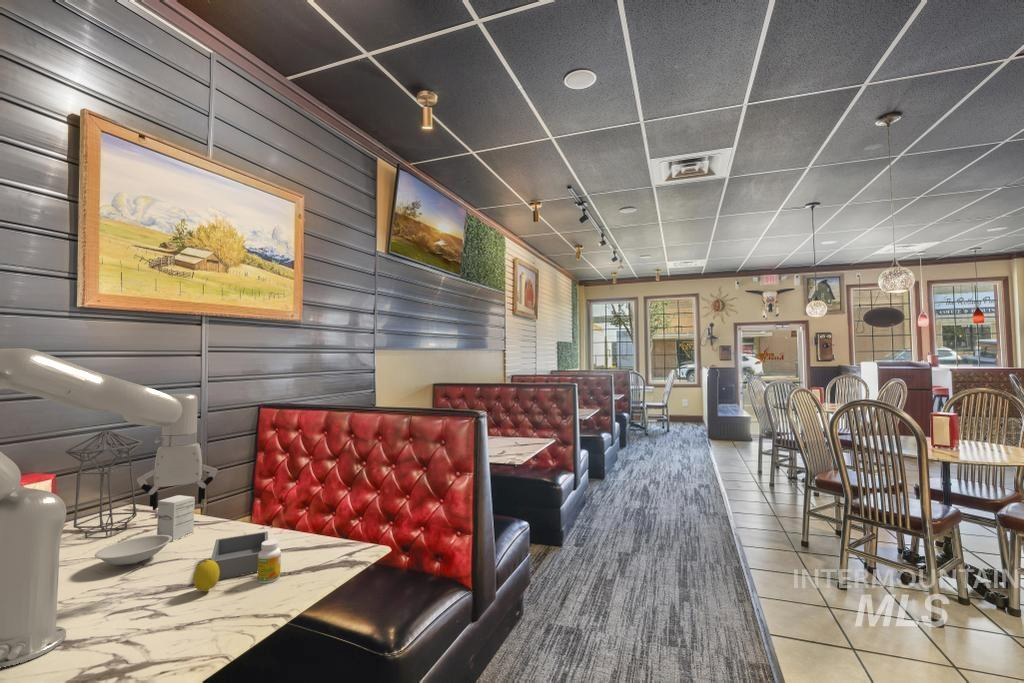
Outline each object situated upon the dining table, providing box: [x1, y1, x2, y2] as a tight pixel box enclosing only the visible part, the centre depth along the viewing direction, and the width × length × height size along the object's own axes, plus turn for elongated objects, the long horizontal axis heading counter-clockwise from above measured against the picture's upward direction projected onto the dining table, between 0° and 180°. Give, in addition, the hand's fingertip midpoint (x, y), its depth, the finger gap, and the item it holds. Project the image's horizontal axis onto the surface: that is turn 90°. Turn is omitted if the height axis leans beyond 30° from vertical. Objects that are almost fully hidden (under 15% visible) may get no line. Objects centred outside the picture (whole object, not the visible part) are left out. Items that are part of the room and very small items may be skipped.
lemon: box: [192, 559, 220, 593], centre depth 115 cm, size 6×6×8 cm
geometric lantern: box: [65, 429, 145, 539], centre depth 155 cm, size 16×16×35 cm
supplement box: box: [156, 494, 196, 542], centre depth 152 cm, size 7×7×13 cm
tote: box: [210, 531, 269, 581], centre depth 131 cm, size 18×14×5 cm
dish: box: [94, 534, 172, 566], centre depth 131 cm, size 18×14×5 cm
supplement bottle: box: [257, 539, 282, 584], centre depth 122 cm, size 5×5×10 cm
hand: (178, 505), depth 120 cm, fingers open, 9 cm apart
